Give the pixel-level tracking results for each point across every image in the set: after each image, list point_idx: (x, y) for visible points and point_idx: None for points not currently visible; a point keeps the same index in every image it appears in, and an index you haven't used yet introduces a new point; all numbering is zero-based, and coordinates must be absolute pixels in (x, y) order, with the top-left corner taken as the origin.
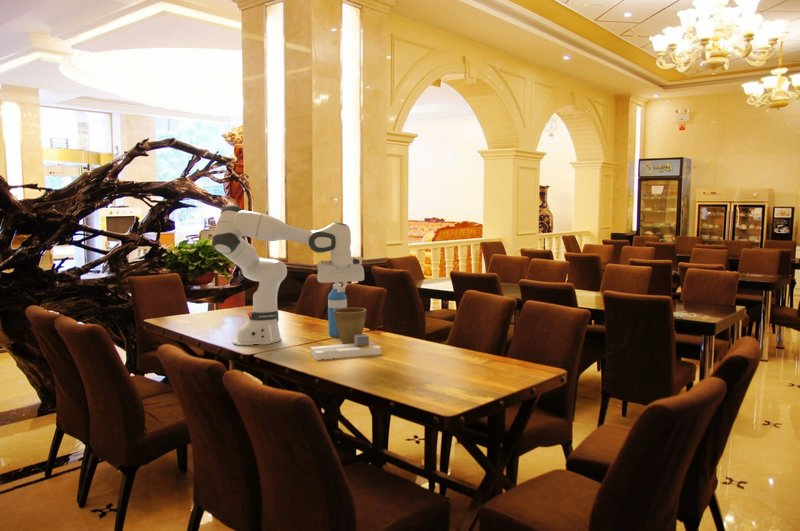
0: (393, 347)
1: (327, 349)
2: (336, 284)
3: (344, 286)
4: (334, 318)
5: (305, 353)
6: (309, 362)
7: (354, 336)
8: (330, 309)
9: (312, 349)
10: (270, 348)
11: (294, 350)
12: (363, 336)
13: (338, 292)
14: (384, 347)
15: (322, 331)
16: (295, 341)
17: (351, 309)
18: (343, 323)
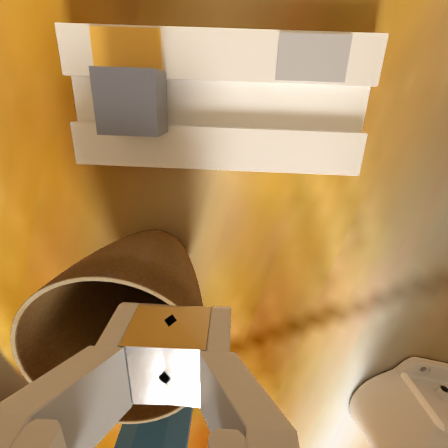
0: (3, 141)
1: (315, 81)
2: (285, 436)
3: (87, 374)
4: (170, 435)
5: (362, 185)
6: (419, 7)
7: (159, 132)
8: None
9: (366, 133)
10: (436, 306)
11: (377, 247)
12: (118, 71)
13: (227, 311)
14: (40, 157)
15: (199, 439)
16: (320, 361)
17: None
18: (178, 271)
